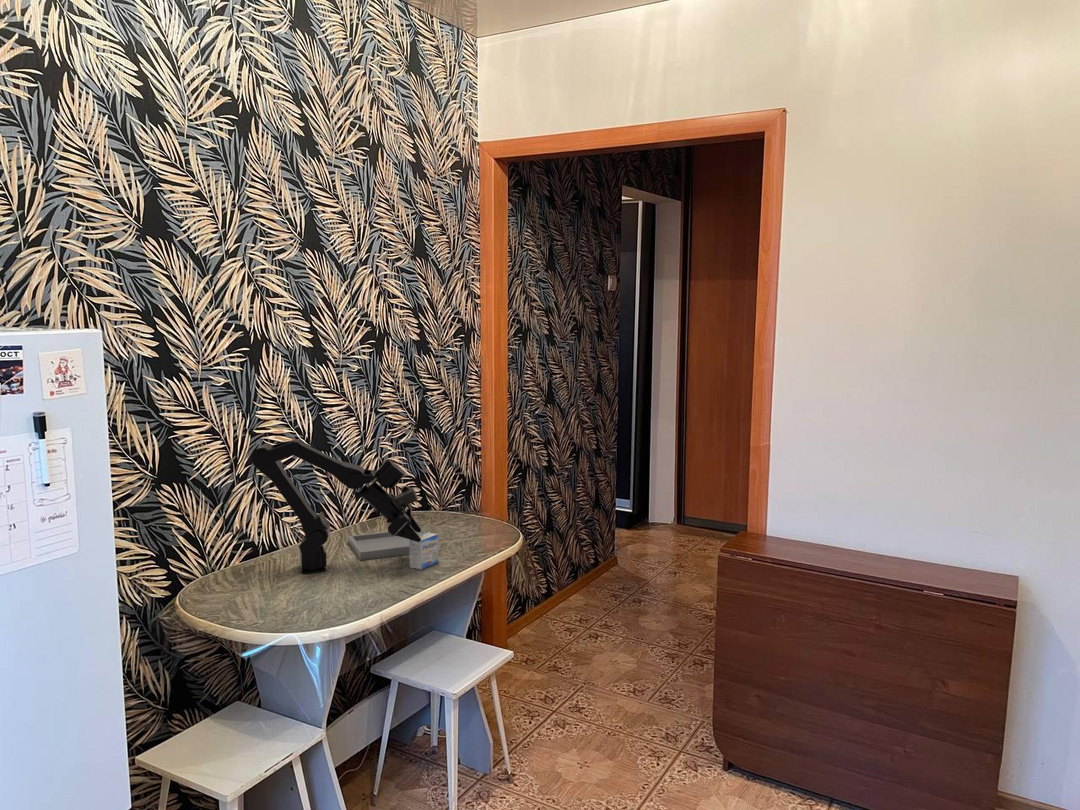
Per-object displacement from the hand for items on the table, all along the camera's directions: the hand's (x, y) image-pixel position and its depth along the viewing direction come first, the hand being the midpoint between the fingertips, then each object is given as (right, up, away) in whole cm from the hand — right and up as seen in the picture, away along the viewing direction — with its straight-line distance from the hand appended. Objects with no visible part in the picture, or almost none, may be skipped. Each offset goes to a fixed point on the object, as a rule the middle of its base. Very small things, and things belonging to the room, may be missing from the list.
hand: (420, 536), depth 217 cm
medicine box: (+1, -9, +1) cm, 9 cm away
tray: (-12, -7, +17) cm, 22 cm away
